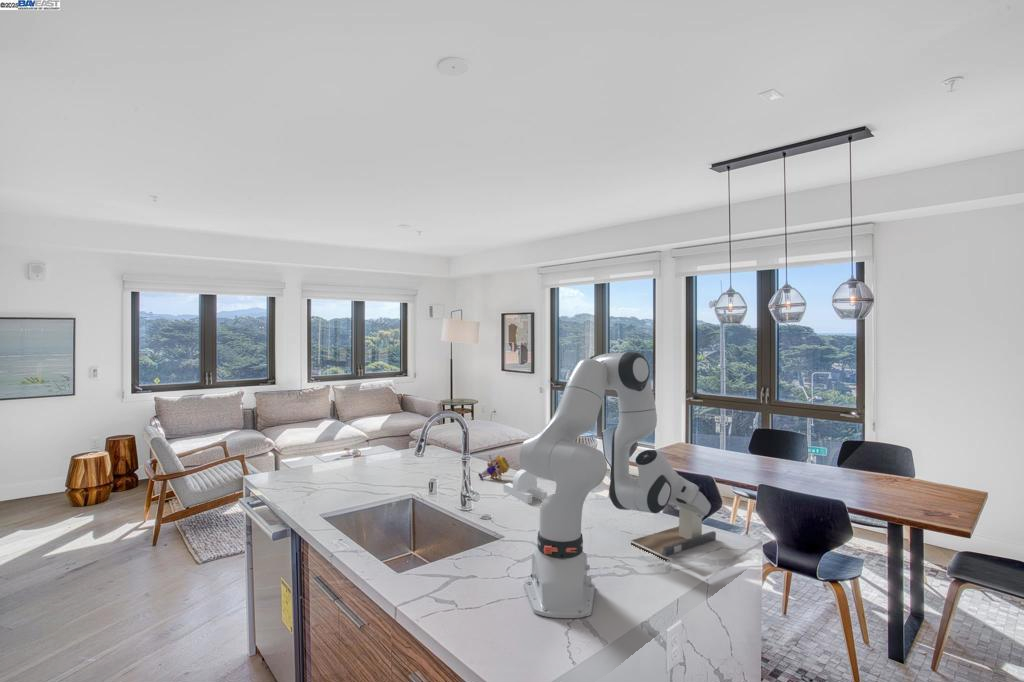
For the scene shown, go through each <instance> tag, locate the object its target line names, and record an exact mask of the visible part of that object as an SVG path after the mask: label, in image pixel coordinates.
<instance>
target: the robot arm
mask: <svg viewBox="0 0 1024 682" xmlns="http://www.w3.org/2000/svg"><path fill="white" fill-rule="evenodd" d="M650 372H651V371H650V364H649V362H648V360H647V359H646V357H644V355H643V354H642V353H639V352H635V351H626V352H608V353H603V354H599V355H598V354H595V355H592V356H590V357H588V358H583V359H581V360H579V361H578V362H577V364H576V365H575V366H574V368H573V370H572V371H571V373H570V375H569V378H568V380H567V382H566V384H565V387H564V390H563V393H562V395H561V397H560V400H559V403H558V406H557V408H556V410H555V412H554V414H553V415H552V417H551V419H550V420H549V421H548V422H547V424H546V425H545V426H544V427H543V428H542V429H541V430H540V431H538V432H537V433H536V434H534V435H533V436H530V437H529V438H527V439H526V440H525V441H524V442H523V443H522V444H521V446H520V448H519V453H518V460H519V465H520V467H521V468H522V469H524V470H525V471H527V472H529V473H530V474H532V475H534V476H536V478H539V479H540V478H541V479H544V480H549V481H553V482H555V485H556V486H555V487H556V488H555V491H554V493H552V494H550V495H548V496H547V497H546V498H545V499H544V500H543V501H542V502H541V504H540V506H539V530H538V532H537V538H536V540H537V544H536V545H537V548H536V550H535V551H533V552H532V553H531V567H530V568H531V570H530V571H531V574H530V578H527V579H525V580H524V581H523V587H524V590H525V592H526V595H527V597H528V600H529V603H530V606H531V608H532V611H533V612H534V614H536V615H539V616H543V617H545V618H546V617H547V618H552V619H553V618H556V619H581V618H585V616H586V617H588V616H591V615H592V612H593V605H594V597H595V592H596V584H595V582H594V581H592V576H591V575H588V571H590V567H591V566H590V564H588V554H586V552H585V551H584V538H583V537H584V536H583V533H582V517H583V516H582V515H583V508H584V503H585V500H586V498H587V496H588V495H589V493H590V492H591V491H592V490H593V489H595V488H597V487H599V485H600V484H601V483H602V482H603V481H604V480H605V478H606V475H607V471H608V463H607V460H606V456H605V455H604V453H603V452H602V451H601V450H600V449H598V448H595V447H593V446H591V445H589V444H586V443H581V442H580V443H579V442H575V441H576V440H577V438H579V437H580V436H581V435H584V434H586V433H589V432H590V431H592V430H593V428H595V426H596V423H597V419H598V417H599V414H600V410H601V407H602V404H603V400H604V398H605V394H606V390H607V391H615V392H616V394H617V404H618V405H617V406H618V416H619V417H618V422H617V427H616V428H614V430H613V432H612V438H611V462H610V463H611V468H610V469H611V470H610V483H609V487H608V495H609V500H610V501H611V503H612V505H613V506H614V507H615V508H616V509H618V510H623V511H636V512H642V513H643V512H644V513H650V514H659V513H661V512H662V511H663V510H664V509H665V508H666V506H667V505H670V506H671V507H673V508H674V509H675V510H677V511H679V507H681V508H684V509H687V510H690V511H693V512H695V513H697V516H698V517H700V518H702V519H704V518H705V516H707V515H708V514H709V512H710V510H711V508H712V504H711V503H710V501H709V500H708V499H707V497H706V496H705V495H704V494H703V493H702V492H701V491H700V490H699V489H700V487H699V486H698V485H697V484H695V483H693V482H691V481H689V480H688V479H686V478H685V477H683V476H682V475H679V474H678V472H677V471H676V470H675V469H673V466H672V465H671V463H670V462H669V461H668V460H667V458H666V457H665V456H664V455H663V454H662V453H661V452H660V451H658V450H656V449H645V450H643V451H641V452H640V453H638V455H636V457H635V461H634V462H635V464H636V467H637V471H638V478H636V477H632V476H631V474H630V451H631V448H632V446H633V445H635V443H638V442H639V441H642V440H644V439H646V438H648V437H649V436H651V435H652V433H653V432H654V431H655V429H656V428H657V423H658V414H657V409H656V407H657V406H656V401H655V396H654V393H653V388H652V385H651V383H650V380H649V379H650Z"/></svg>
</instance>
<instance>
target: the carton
mask: <svg viewBox="0 0 1024 682" xmlns="http://www.w3.org/2000/svg"><path fill="white" fill-rule="evenodd" d="M678 511H679V514H678V515H679V516H678V517H679V518H678V526H679V536H681V537H683V538H686V539H690V538H693V537H696V536H699V535H702V534H703V533H702V531H703V528H702V527H703V526H702V525H703V524H702V523H703V518H700V517H698V516H697V513H695V512H693V511H690V510H687V509H684V508H681V507H679V510H678Z"/></svg>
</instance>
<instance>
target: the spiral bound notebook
mask: <svg viewBox="0 0 1024 682" xmlns="http://www.w3.org/2000/svg"><path fill="white" fill-rule="evenodd" d="M684 540H687V539H686V538H683V537H681V536H679V525H678V526H675V527H673V528H669V529H665V530H662V531H659V532H654V533H651V534H648V535H644V536H641V537H637V538H634V539H631V542H630V545H631V546H632V545H633V546H632V547H634V546H635V547H634V548H636V547H637V548H636V549H638V548H639V550H641V549H642V550H641V551H643V550H644V551H643V552H645V551H646V552H645V553H647V552H648V554H649V553H651V554H653V555H655V556H657V557H659V558H658V559H660V558H661V559H660V560H662V559H663V560H662V561H664V560H665V561H664V562H668V561H667V560H669V559H668V558H666V557H665V556H664V555H663V547H665V546H668V545H671V544H674V543H677V542H680V541H684ZM633 542H634V543H633ZM644 547H645V548H644ZM651 554H650V555H651ZM659 554H660V555H659ZM653 555H652V556H653ZM655 556H654V557H655ZM663 556H664V557H663ZM657 557H656V558H657Z"/></svg>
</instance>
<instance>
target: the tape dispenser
mask: <svg viewBox="0 0 1024 682" xmlns="http://www.w3.org/2000/svg"><path fill="white" fill-rule="evenodd" d="M537 478H538V477H536V476H534V475H532V474H530V473H529V472H527V471H525V470H524V469H523V468H522V469H521V468H520V469H519V470H518V471H517V472H516V473H515V474H514V476H513V479H512V482H508V483H503V487H502V488H503V491H504V492H503V493H505V492H506V493H505V494H507V493H508V494H507V495H509V494H510V495H512V496H514V497H515V499H516V498H517V500H518V499H519V500H518V501H520V500H521V502H522V501H523V502H522V503H524V502H525V503H524V504H526V503H529V504H533V498H532V497H535V498H534V499H537V498H538V499H537V500H539V499H540V500H539V501H541V500H544V499H545V498H546V497H548V496H547V494H548V492H547V490H544V489H543V488H540V487H538V479H537ZM510 495H509V496H510ZM512 496H511V497H512ZM514 497H513V498H514Z"/></svg>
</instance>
